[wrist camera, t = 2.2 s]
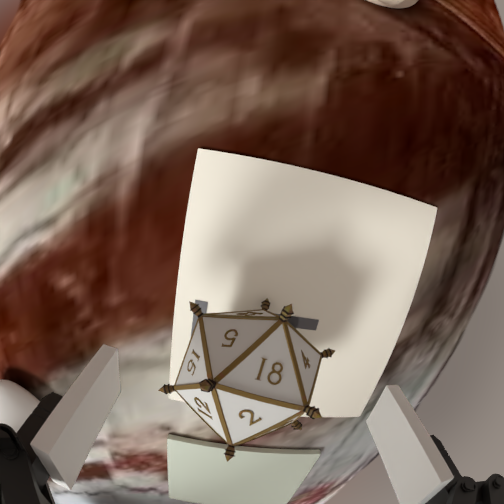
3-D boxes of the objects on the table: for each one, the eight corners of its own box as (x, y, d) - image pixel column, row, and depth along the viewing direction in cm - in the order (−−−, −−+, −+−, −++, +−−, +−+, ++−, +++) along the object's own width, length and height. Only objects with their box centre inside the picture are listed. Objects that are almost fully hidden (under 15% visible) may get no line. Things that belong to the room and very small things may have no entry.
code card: (358, 415, 21) (359, 416, 20) (169, 396, 20) (168, 398, 19) (435, 207, 17) (437, 207, 16) (198, 148, 16) (198, 148, 15)
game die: (271, 300, 22) (392, 337, 14) (232, 400, 20) (332, 469, 12) (166, 258, 16) (294, 299, 8) (123, 387, 15) (204, 508, 7)
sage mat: (281, 506, 25) (282, 509, 24) (169, 494, 24) (169, 497, 23) (319, 449, 22) (320, 453, 21) (168, 433, 21) (167, 438, 20)
